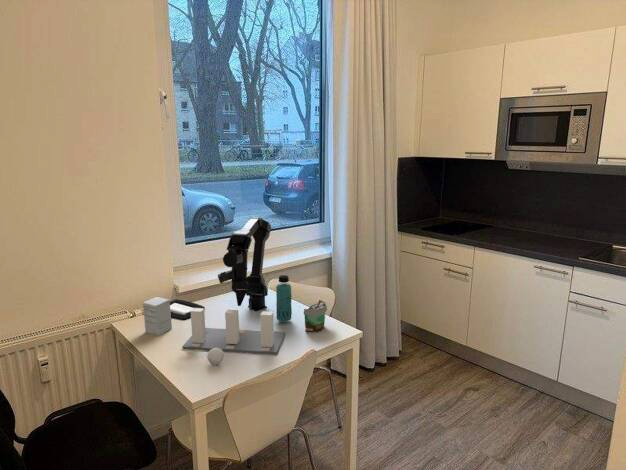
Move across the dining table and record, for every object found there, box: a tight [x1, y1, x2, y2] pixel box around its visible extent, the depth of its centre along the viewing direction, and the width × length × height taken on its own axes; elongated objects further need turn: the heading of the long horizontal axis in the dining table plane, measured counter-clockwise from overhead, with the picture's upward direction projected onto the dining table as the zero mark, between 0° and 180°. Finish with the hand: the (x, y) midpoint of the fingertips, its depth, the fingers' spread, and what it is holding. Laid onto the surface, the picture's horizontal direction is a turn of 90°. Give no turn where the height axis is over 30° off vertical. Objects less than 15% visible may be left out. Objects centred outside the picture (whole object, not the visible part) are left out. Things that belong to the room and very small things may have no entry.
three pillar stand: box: [182, 308, 286, 356], centre depth 160 cm, size 16×35×13 cm, turn 83°
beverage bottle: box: [275, 274, 293, 322], centre depth 176 cm, size 6×7×20 cm
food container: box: [303, 299, 328, 334], centre depth 171 cm, size 12×6×10 cm, turn 148°
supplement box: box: [142, 296, 173, 336], centre depth 169 cm, size 7×7×13 cm
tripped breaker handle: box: [224, 309, 240, 344], centre depth 157 cm, size 3×4×12 cm
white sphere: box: [201, 348, 225, 366], centre depth 145 cm, size 8×6×6 cm
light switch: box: [170, 299, 206, 321], centre depth 189 cm, size 20×3×14 cm
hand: (238, 303), depth 171 cm, fingers open, 9 cm apart
